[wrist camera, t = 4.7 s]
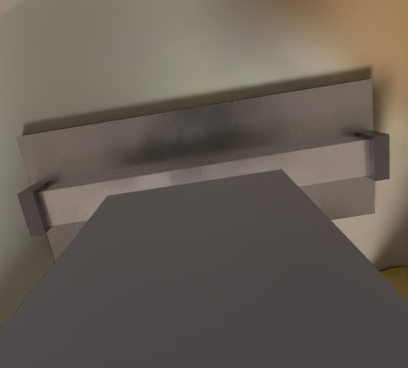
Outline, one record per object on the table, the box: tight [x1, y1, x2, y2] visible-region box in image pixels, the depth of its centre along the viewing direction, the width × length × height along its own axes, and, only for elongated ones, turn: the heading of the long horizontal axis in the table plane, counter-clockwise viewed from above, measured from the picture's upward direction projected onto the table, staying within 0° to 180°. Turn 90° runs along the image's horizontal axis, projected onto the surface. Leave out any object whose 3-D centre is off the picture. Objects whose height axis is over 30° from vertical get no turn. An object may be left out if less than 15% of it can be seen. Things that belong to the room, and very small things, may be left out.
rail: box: [17, 79, 389, 262], centre depth 19 cm, size 8×20×3 cm, turn 99°
